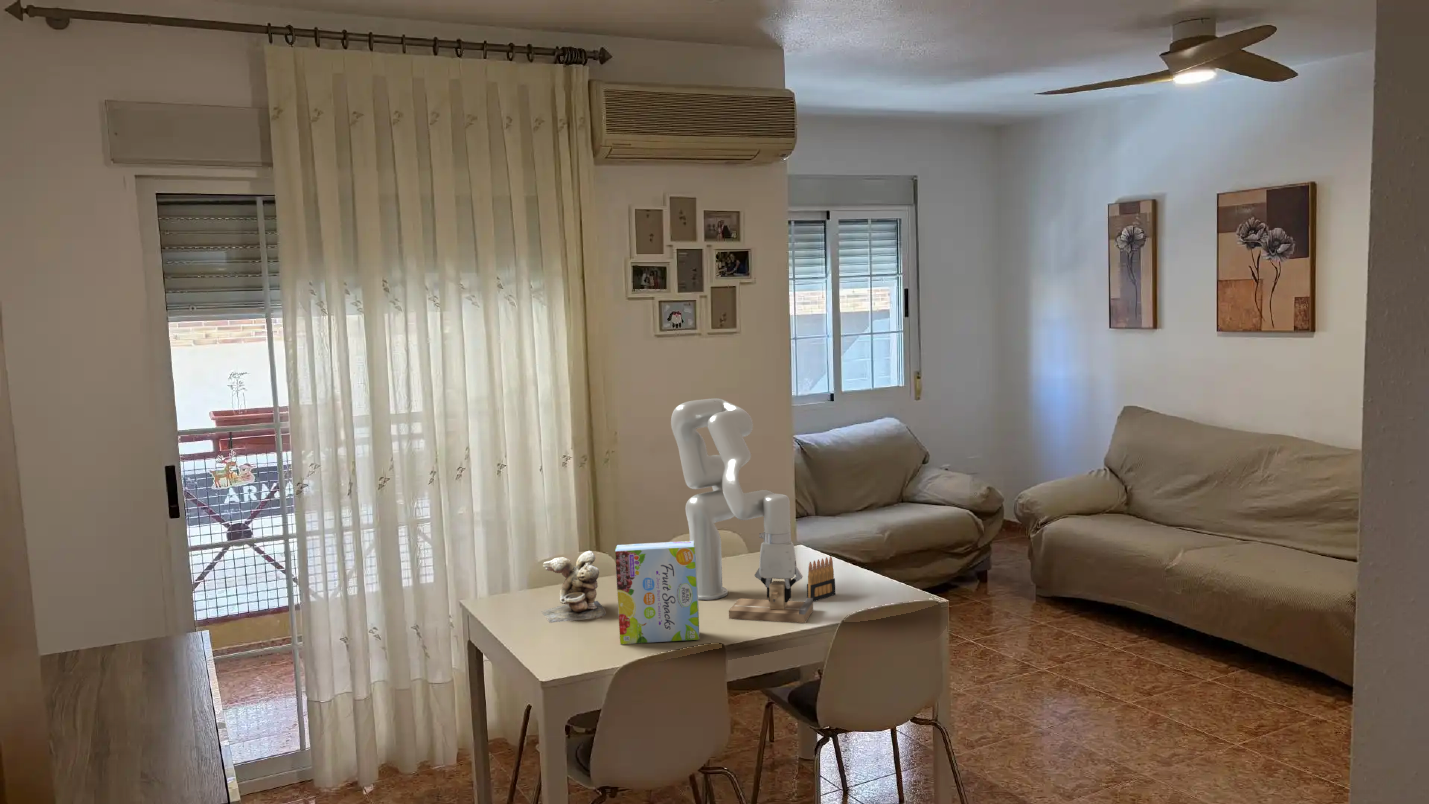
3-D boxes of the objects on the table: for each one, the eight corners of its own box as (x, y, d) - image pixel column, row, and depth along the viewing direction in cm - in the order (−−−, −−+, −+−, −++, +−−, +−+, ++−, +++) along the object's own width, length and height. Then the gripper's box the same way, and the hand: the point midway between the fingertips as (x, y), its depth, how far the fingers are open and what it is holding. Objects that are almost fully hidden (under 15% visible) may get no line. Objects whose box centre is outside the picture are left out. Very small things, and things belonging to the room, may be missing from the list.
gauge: (767, 612, 300) (766, 587, 300) (776, 601, 311) (775, 578, 310) (781, 612, 299) (780, 588, 299) (789, 602, 310) (789, 578, 309)
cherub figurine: (548, 624, 304) (545, 563, 302) (538, 607, 321) (535, 549, 319) (609, 616, 309) (607, 556, 308) (596, 600, 326) (594, 543, 325)
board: (729, 618, 304) (728, 606, 304) (739, 606, 315) (739, 594, 315) (805, 622, 298) (804, 610, 298) (813, 610, 309) (812, 598, 309)
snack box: (699, 631, 294) (696, 539, 291) (700, 641, 285) (696, 547, 282) (620, 634, 293) (616, 542, 290) (618, 645, 284) (614, 550, 281)
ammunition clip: (811, 602, 318) (810, 562, 316) (806, 600, 319) (805, 561, 318) (835, 594, 324) (835, 556, 323) (831, 593, 326) (830, 555, 325)
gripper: (745, 539, 303) (747, 602, 304) (803, 542, 298) (805, 606, 300) (752, 533, 310) (754, 595, 312) (809, 535, 305) (810, 598, 307)
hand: (779, 600), depth 306 cm, fingers closed on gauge, 4 cm apart
